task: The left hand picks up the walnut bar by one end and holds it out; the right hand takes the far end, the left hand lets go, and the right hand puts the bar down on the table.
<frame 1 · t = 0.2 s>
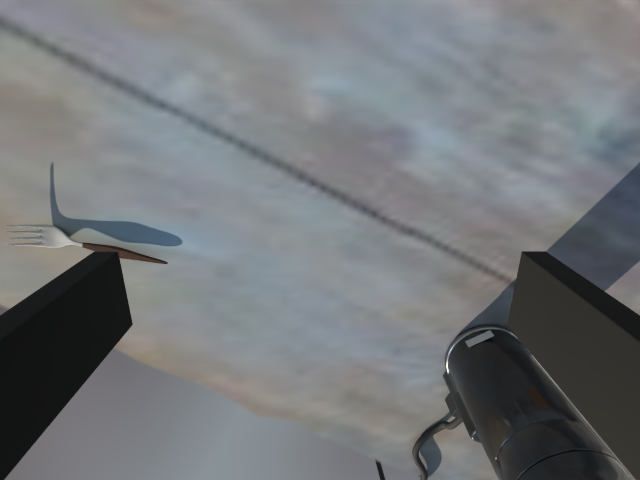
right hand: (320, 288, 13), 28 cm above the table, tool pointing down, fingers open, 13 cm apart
fork: (97, 244, 42), on the table
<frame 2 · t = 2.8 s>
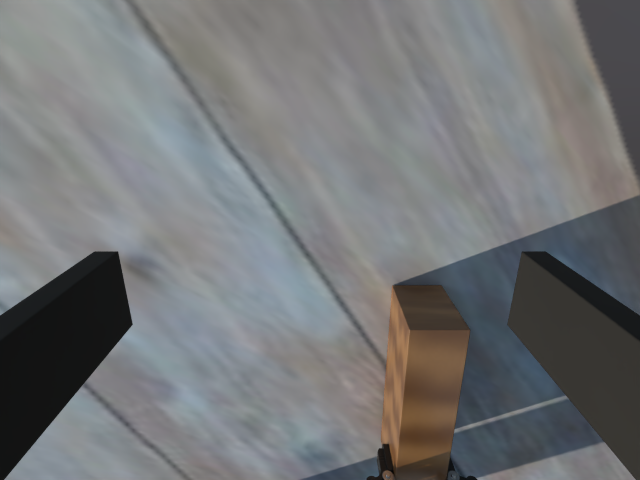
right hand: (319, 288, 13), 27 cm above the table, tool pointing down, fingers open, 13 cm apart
bar: (408, 368, 46), on the table, touching left hand
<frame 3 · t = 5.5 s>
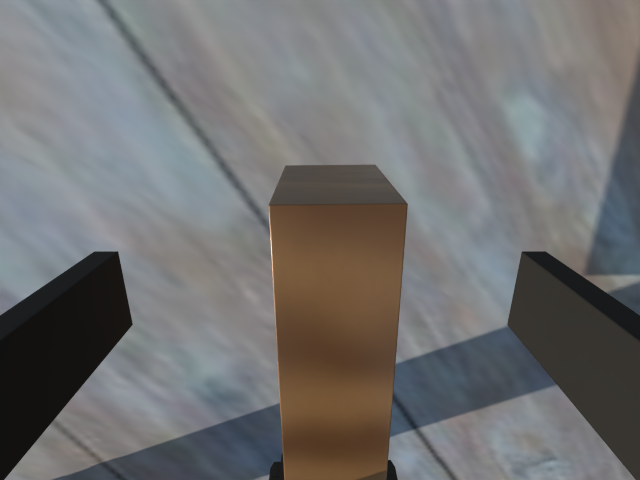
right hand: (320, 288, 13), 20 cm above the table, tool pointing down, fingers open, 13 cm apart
bar: (330, 324, 27), point 8 cm above the table, touching left hand
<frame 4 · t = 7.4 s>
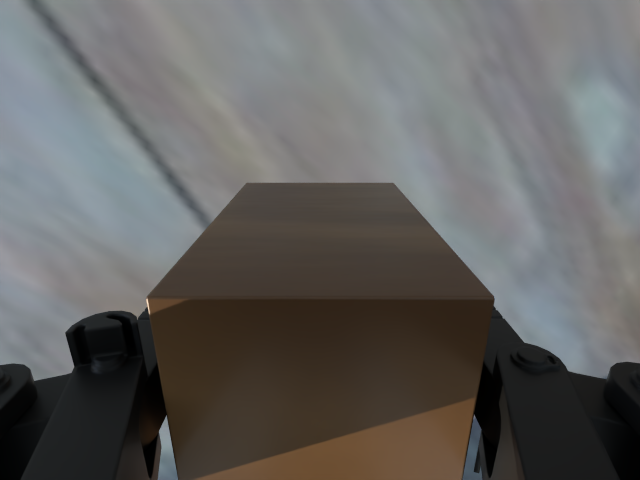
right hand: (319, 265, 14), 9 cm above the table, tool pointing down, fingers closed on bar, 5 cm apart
bar: (319, 420, 18), point 8 cm above the table, touching right hand, left hand
when the left hand's fingers open (12 cm above the table, at t = 8.2 s): bar stays where it is, held by the right hand.
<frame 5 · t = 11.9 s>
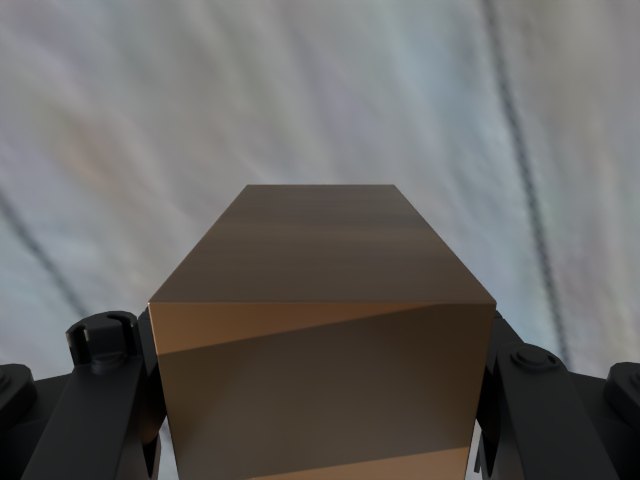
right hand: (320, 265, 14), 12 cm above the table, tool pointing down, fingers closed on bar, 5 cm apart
bar: (320, 421, 18), point 11 cm above the table, touching right hand
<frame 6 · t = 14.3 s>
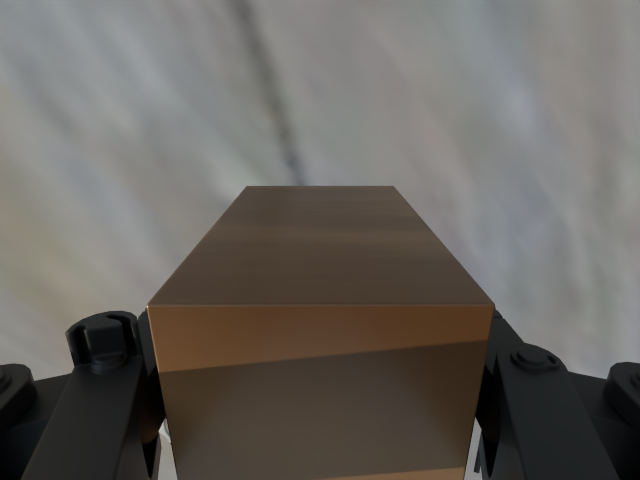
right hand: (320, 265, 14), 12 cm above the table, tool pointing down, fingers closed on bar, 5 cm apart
bar: (320, 422, 18), point 11 cm above the table, touching right hand
when the right hand's fingers open (2 cm above the table, at t = 16.4 s): bar drops 2 cm, on the table.
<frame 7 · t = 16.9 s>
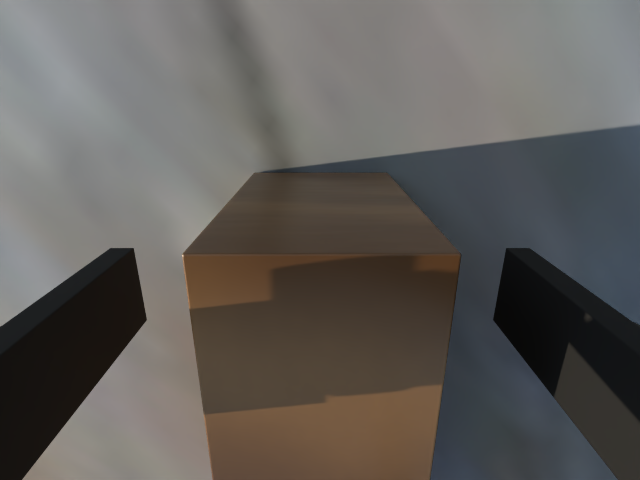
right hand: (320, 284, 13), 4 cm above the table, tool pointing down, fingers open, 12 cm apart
bar: (320, 393, 20), on the table
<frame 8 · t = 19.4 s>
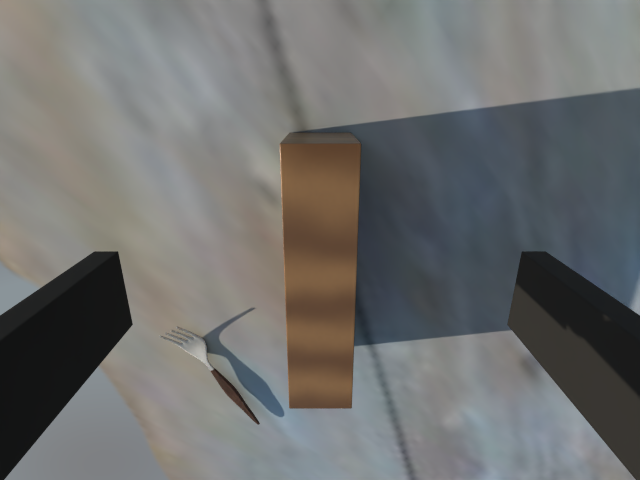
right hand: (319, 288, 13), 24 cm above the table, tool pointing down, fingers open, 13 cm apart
fork: (220, 372, 43), on the table
bar: (320, 251, 38), on the table
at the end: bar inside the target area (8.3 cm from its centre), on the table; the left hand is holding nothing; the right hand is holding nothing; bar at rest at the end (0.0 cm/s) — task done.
